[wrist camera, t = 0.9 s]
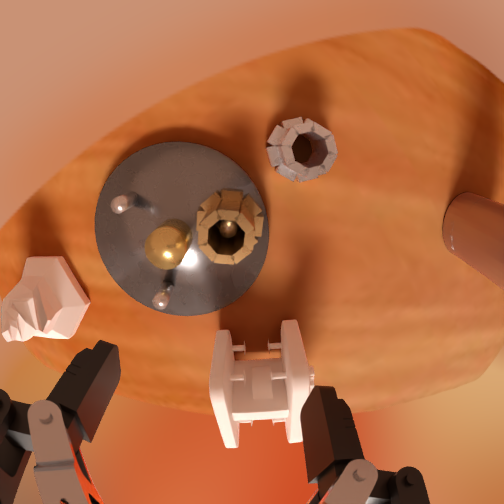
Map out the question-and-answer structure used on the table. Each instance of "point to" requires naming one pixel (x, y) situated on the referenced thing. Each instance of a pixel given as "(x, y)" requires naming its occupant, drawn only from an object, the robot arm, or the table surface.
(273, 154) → the gear
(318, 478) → the robot arm
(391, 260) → the table surface
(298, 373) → the cable organizer
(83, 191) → the table surface
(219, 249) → the seated gear
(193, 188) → the carrier
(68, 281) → the white faceted rock
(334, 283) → the table surface
